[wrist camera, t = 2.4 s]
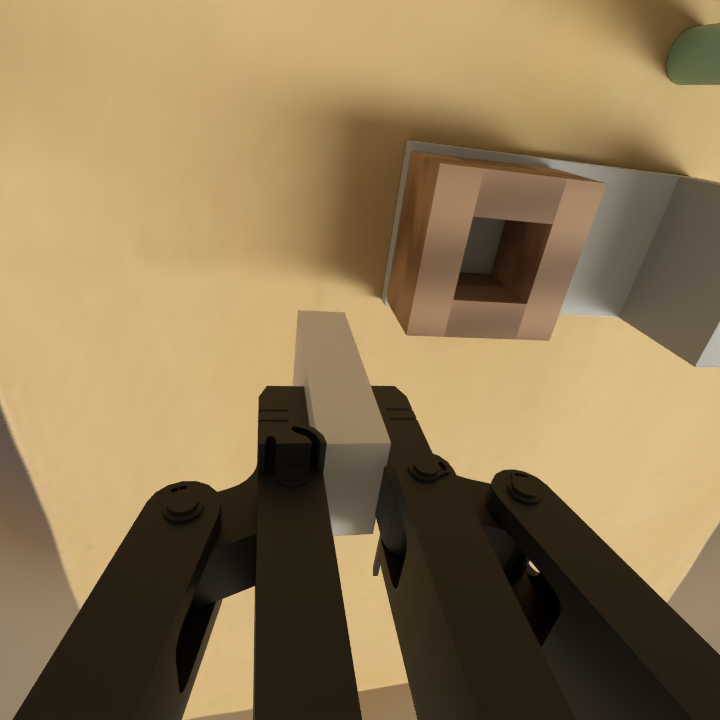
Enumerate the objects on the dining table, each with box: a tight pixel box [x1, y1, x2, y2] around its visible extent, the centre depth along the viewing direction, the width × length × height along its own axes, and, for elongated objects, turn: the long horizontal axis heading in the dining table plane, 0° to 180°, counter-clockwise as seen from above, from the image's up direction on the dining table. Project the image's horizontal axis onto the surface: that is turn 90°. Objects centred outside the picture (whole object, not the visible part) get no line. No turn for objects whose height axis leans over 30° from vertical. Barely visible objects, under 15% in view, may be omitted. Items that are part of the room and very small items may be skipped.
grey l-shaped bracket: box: [381, 140, 720, 367], centre depth 31 cm, size 11×22×9 cm, turn 83°
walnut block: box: [387, 151, 607, 341], centre depth 30 cm, size 10×10×6 cm
